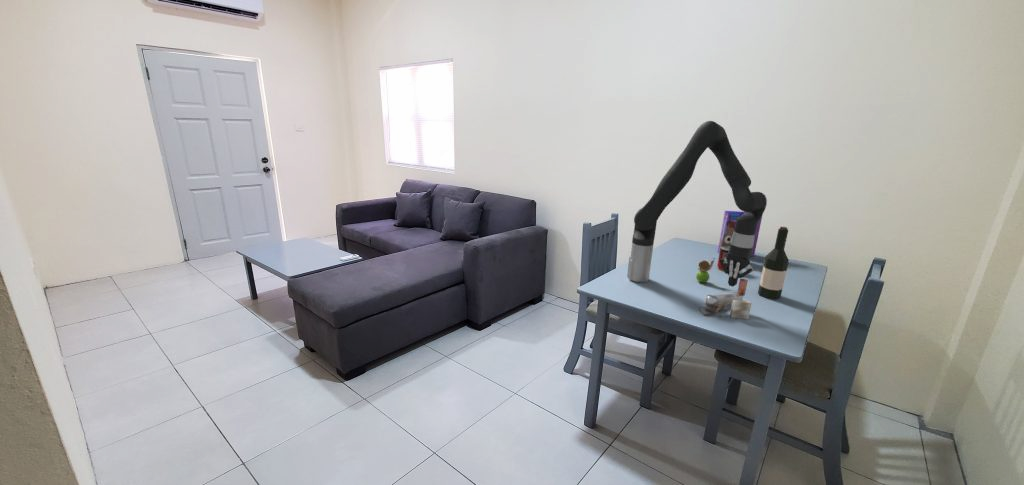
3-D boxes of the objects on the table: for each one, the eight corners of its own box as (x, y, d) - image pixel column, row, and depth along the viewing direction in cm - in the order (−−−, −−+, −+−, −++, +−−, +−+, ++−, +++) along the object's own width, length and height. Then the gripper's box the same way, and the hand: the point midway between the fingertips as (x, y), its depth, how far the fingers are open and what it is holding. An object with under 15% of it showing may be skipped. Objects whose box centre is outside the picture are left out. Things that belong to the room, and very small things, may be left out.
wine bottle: (753, 291, 178) (767, 224, 169) (771, 291, 179) (786, 224, 170) (766, 299, 170) (781, 230, 161) (785, 299, 171) (801, 230, 162)
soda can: (733, 272, 200) (737, 249, 197) (718, 270, 202) (721, 248, 199) (730, 268, 206) (734, 246, 203) (715, 266, 208) (719, 244, 205)
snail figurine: (711, 285, 184) (716, 259, 181) (696, 283, 185) (701, 258, 182) (708, 280, 189) (713, 256, 186) (694, 279, 191) (698, 254, 187)
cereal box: (720, 254, 228) (727, 212, 221) (717, 251, 232) (724, 210, 226) (753, 256, 225) (762, 214, 218) (750, 253, 230) (759, 212, 223)
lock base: (704, 316, 154) (707, 300, 152) (691, 299, 169) (693, 284, 167) (748, 318, 153) (751, 303, 151) (731, 301, 168) (733, 287, 166)
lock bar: (709, 306, 154) (713, 284, 152) (703, 302, 158) (707, 280, 155) (745, 303, 158) (750, 281, 155) (738, 299, 161) (743, 278, 159)
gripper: (719, 240, 159) (710, 281, 164) (755, 250, 149) (744, 294, 154) (728, 237, 163) (719, 277, 168) (764, 247, 153) (753, 289, 159)
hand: (731, 285), depth 161 cm, fingers closed
